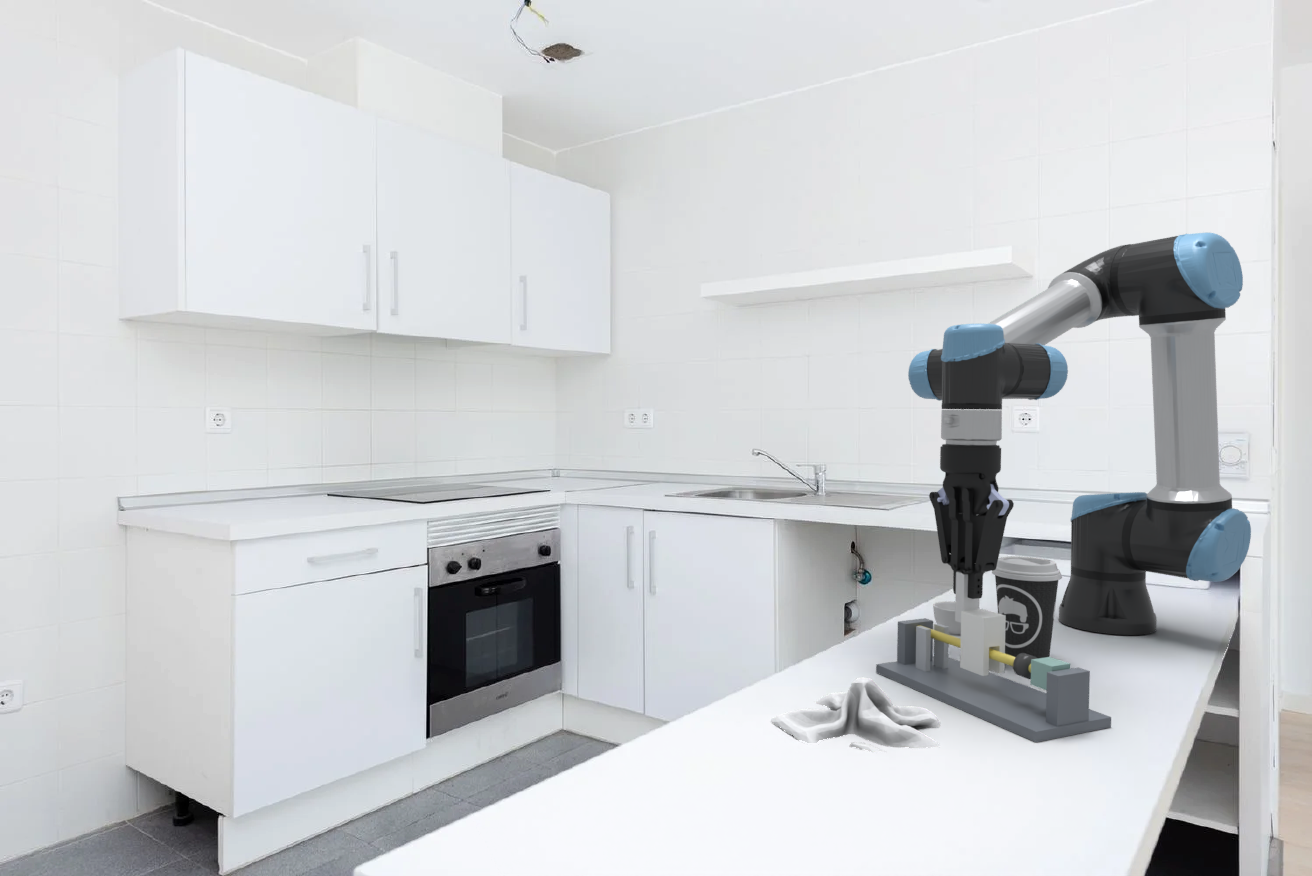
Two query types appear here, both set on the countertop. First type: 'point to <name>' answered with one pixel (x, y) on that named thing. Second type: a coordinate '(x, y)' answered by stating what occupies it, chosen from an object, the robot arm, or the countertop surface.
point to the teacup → (947, 617)
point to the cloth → (862, 719)
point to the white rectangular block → (981, 640)
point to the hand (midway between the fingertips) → (967, 621)
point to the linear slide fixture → (996, 685)
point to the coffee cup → (1027, 603)
